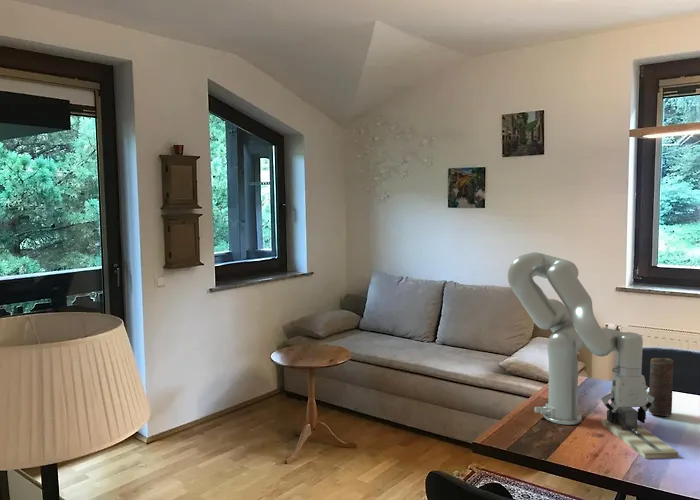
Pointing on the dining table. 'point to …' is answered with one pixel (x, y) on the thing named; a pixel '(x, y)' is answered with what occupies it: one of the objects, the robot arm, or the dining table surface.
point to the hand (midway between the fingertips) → (627, 422)
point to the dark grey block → (628, 419)
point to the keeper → (608, 415)
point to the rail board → (642, 441)
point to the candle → (661, 386)
